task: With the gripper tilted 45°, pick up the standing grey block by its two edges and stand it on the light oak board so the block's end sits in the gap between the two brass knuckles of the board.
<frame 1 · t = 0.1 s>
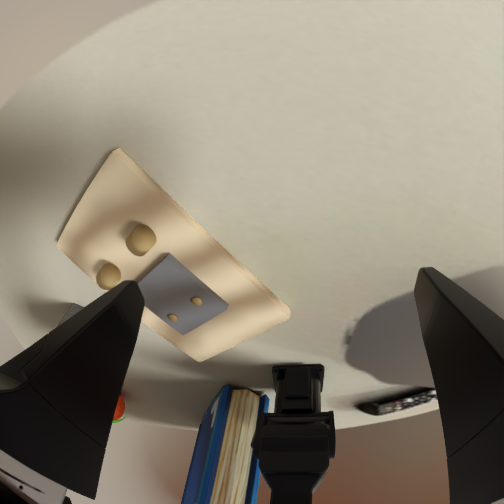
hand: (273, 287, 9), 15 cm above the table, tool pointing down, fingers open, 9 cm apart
book: (228, 411, 45), on the table
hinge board: (164, 274, 28), on the table
clementine: (116, 390, 47), on the table
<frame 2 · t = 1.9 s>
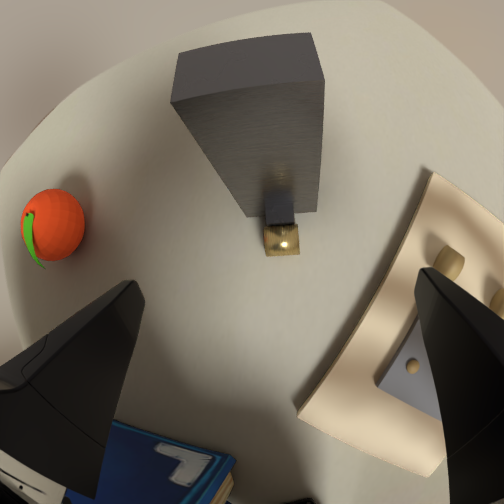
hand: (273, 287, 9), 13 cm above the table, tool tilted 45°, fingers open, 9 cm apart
grey block: (280, 196, 23), on the table
book: (128, 449, 22), on the table
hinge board: (443, 333, 19), on the table
clementine: (76, 238, 27), on the table
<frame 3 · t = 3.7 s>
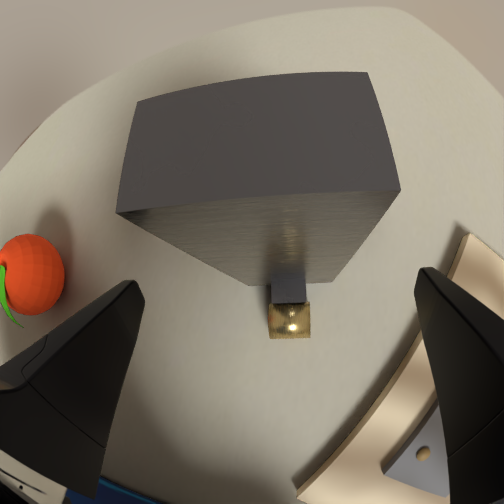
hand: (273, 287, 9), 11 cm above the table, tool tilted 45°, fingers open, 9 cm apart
grey block: (289, 261, 19), on the table
book: (121, 503, 17), on the table
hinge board: (458, 412, 15), on the table
clementine: (57, 286, 23), on the table
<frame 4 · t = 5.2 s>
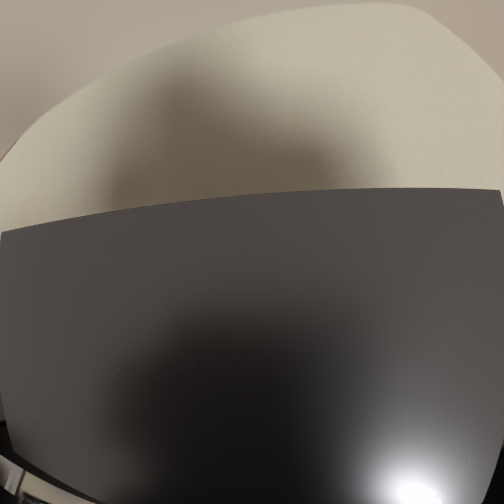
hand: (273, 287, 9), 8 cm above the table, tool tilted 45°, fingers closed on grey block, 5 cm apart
grey block: (288, 323, 16), on the table, touching gripper
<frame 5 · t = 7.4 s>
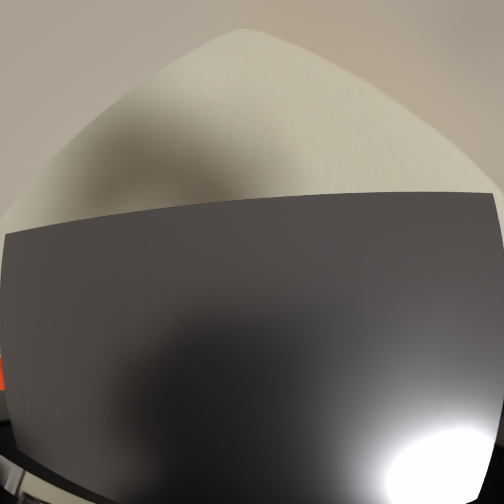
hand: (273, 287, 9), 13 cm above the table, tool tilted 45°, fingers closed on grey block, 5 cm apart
grey block: (288, 322, 16), point 5 cm above the table, touching gripper
when the fingers open (10 cm above the table, at t = 9.6 s): grey block drops 1 cm, resting on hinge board.
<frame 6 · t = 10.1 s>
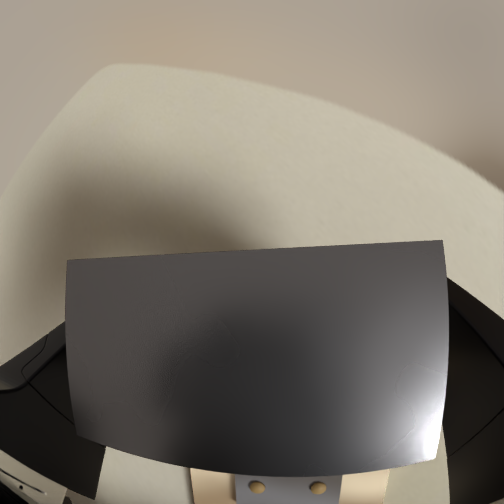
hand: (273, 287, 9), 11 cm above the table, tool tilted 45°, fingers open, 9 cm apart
grey block: (290, 321, 17), point 1 cm above the table, touching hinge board
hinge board: (291, 434, 17), on the table
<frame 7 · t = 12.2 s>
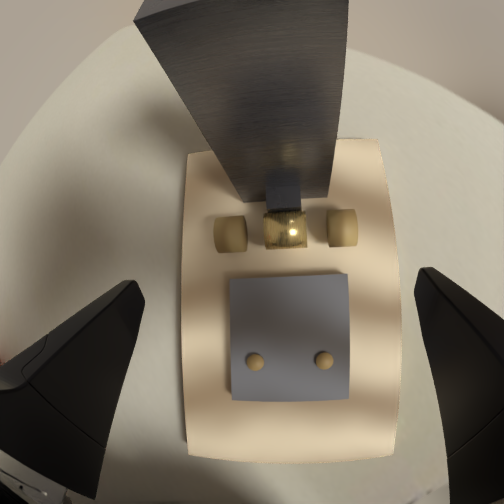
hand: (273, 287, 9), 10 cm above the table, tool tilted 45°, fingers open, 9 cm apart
grey block: (284, 179, 19), point 1 cm above the table, touching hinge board
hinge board: (290, 303, 19), on the table
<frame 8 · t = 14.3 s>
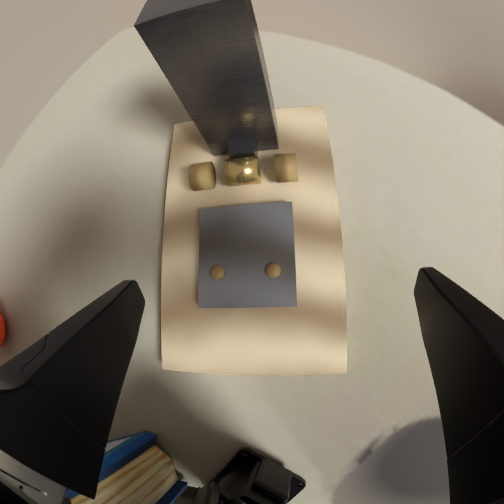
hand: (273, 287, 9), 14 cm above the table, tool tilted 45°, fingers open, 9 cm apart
grey block: (245, 137, 24), point 1 cm above the table, touching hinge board
book: (101, 472, 21), on the table
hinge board: (249, 231, 23), on the table
clementine: (4, 331, 27), on the table
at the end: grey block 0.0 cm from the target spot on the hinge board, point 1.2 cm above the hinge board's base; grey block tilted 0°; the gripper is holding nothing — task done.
